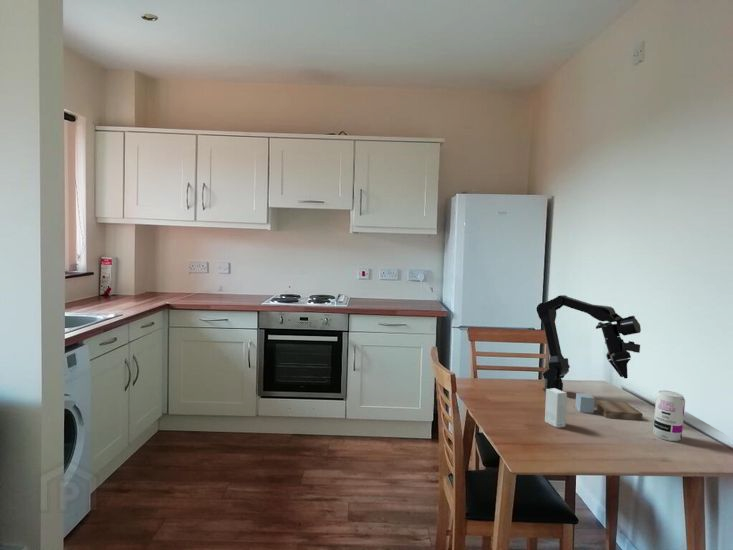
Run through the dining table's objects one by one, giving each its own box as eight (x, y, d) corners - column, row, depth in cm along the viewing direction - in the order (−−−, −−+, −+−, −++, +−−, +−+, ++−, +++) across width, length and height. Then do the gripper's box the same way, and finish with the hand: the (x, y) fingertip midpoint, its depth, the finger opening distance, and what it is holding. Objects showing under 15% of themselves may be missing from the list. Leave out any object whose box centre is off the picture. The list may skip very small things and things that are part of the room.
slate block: (579, 412, 180) (581, 397, 180) (575, 408, 185) (576, 393, 185) (593, 413, 180) (594, 398, 180) (588, 409, 185) (589, 394, 185)
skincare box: (566, 427, 164) (568, 392, 163) (555, 428, 162) (558, 393, 162) (553, 420, 170) (555, 387, 169) (543, 421, 168) (545, 388, 167)
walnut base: (605, 417, 176) (606, 411, 176) (591, 405, 189) (592, 399, 189) (641, 420, 175) (642, 413, 175) (625, 408, 188) (625, 402, 188)
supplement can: (677, 434, 162) (681, 392, 161) (684, 443, 154) (688, 399, 153) (650, 430, 165) (654, 388, 164) (656, 439, 157) (660, 395, 156)
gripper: (639, 333, 175) (652, 375, 171) (630, 334, 192) (642, 372, 189) (607, 338, 178) (619, 380, 175) (601, 339, 196) (612, 377, 192)
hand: (624, 377), depth 183 cm, fingers open, 9 cm apart
